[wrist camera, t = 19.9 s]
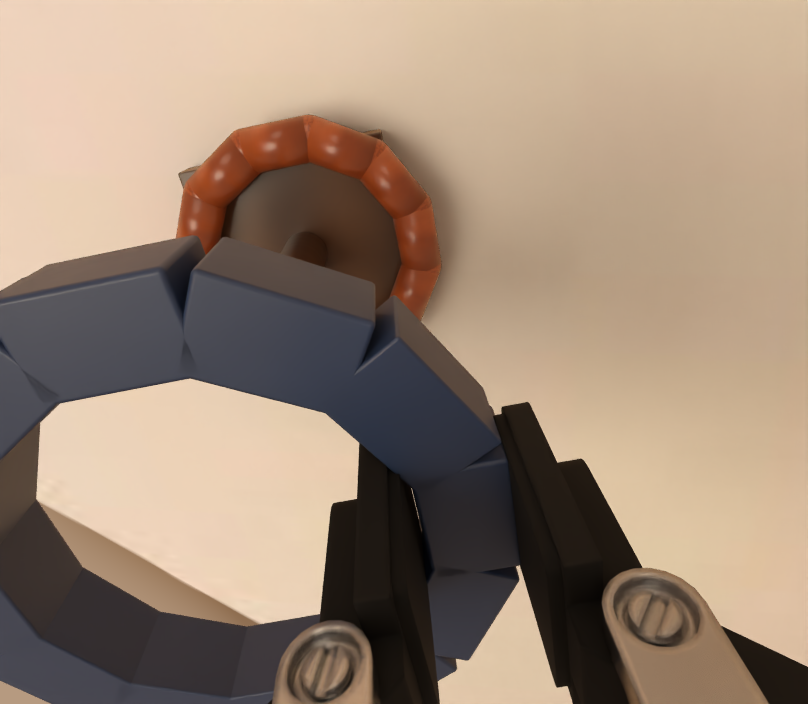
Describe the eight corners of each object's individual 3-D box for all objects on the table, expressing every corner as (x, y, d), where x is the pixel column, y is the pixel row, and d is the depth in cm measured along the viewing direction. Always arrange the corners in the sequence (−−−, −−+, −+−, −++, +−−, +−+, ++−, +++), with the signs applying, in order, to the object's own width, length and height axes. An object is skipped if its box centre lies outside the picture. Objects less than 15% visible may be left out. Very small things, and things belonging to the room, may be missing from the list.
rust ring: (412, 91, 22) (414, 92, 20) (452, 338, 27) (457, 354, 26) (143, 148, 23) (125, 154, 21) (234, 379, 28) (225, 398, 26)
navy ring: (460, 179, 9) (480, 202, 7) (521, 625, 14) (539, 696, 12) (-200, 313, 9) (-318, 363, 8) (101, 695, 15) (67, 772, 13)
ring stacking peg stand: (380, 128, 24) (382, 157, 16) (415, 309, 28) (430, 409, 20) (188, 168, 24) (88, 216, 16) (250, 340, 29) (196, 451, 20)
